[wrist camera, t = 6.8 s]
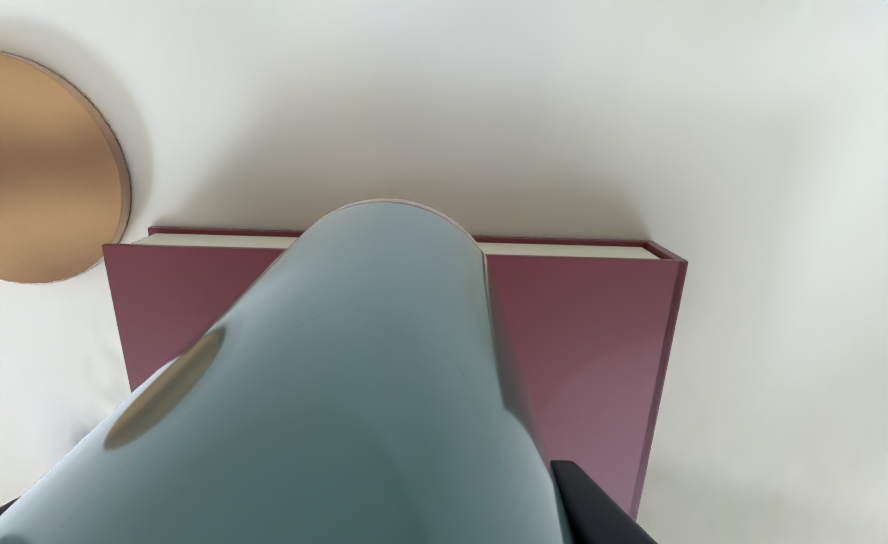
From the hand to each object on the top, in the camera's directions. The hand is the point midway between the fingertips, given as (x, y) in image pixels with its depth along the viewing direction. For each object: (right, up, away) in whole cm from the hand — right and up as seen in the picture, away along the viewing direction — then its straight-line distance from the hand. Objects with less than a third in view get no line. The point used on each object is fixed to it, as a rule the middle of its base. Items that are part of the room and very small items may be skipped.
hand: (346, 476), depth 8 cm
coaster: (-15, +7, +11) cm, 20 cm away
